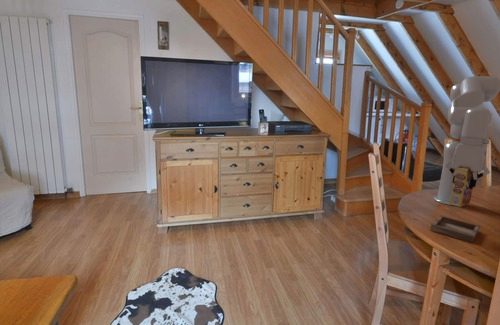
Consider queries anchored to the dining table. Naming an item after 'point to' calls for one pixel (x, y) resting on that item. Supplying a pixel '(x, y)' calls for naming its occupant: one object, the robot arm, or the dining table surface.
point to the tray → (455, 228)
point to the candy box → (461, 187)
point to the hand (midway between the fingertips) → (463, 186)
